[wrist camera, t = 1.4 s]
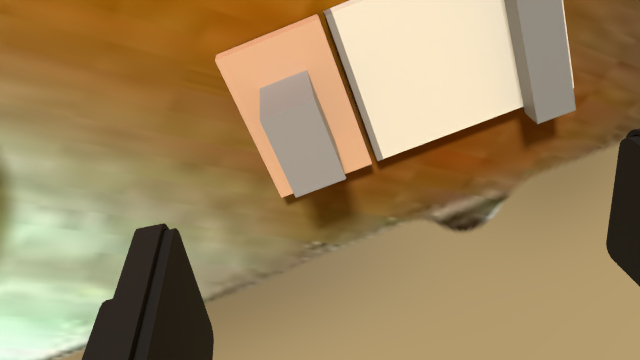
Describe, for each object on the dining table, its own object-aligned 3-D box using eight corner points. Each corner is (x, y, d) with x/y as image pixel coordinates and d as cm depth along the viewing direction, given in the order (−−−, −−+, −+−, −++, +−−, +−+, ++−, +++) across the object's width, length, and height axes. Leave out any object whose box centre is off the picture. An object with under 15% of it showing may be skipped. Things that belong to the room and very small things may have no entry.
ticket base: (541, -87, 29) (568, -85, 27) (565, 88, 35) (590, 104, 32) (320, 2, 31) (325, 13, 28) (376, 159, 36) (385, 180, 33)
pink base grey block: (317, 13, 31) (329, 41, 25) (368, 155, 36) (388, 203, 30) (216, 54, 31) (207, 89, 26) (281, 188, 36) (284, 241, 31)
